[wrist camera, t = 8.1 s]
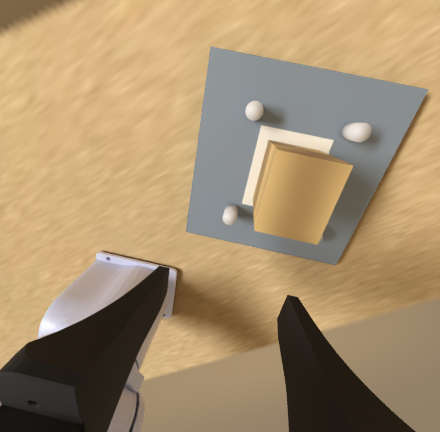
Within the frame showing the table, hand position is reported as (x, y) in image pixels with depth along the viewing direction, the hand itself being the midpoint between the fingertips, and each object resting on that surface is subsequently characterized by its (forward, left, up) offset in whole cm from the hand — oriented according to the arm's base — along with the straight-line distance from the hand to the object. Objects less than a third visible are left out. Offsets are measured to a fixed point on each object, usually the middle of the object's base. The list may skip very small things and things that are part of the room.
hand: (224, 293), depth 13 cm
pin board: (+3, +6, -9) cm, 12 cm away
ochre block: (+3, +6, -8) cm, 11 cm away
